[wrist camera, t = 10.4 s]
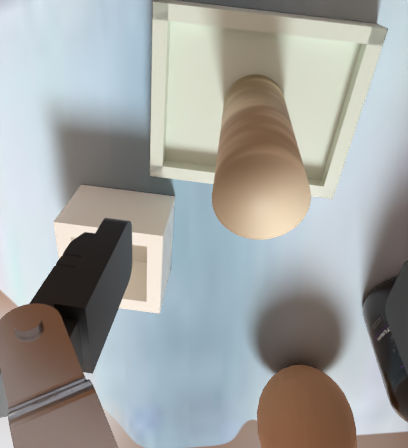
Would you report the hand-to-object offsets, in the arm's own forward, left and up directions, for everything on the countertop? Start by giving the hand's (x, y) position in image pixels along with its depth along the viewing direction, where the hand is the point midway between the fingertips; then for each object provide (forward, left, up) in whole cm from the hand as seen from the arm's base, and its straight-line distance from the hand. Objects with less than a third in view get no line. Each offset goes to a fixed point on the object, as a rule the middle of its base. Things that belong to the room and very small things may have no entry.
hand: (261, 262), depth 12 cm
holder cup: (+8, +11, -16) cm, 20 cm away
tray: (0, 0, -16) cm, 16 cm away
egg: (-9, +25, -16) cm, 31 cm away
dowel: (0, 0, -15) cm, 15 cm away
